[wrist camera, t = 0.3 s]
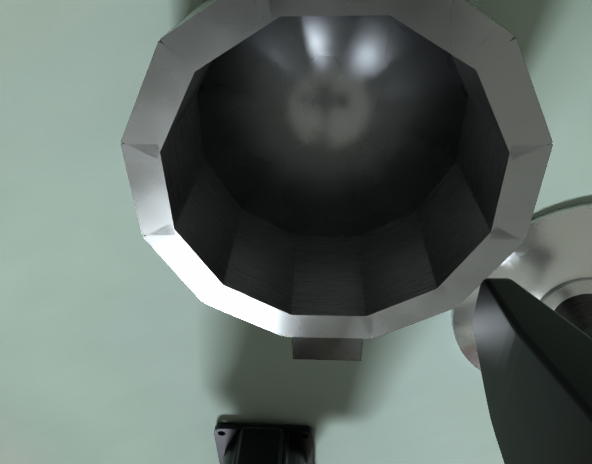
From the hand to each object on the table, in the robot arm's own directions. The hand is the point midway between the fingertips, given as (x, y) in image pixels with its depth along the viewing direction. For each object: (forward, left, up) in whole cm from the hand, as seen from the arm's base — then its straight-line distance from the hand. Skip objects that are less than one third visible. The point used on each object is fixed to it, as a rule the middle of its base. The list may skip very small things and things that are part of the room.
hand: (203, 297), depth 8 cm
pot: (-3, -2, -14) cm, 14 cm away
